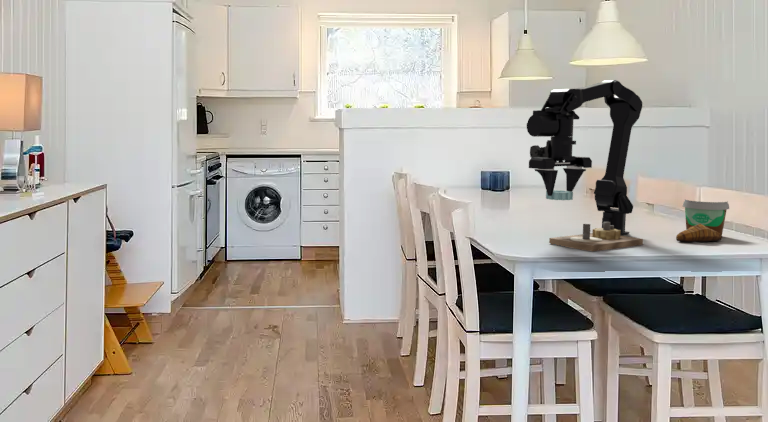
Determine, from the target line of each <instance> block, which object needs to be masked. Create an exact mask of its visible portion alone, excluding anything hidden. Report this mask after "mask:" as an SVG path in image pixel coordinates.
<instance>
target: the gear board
mask: <svg viewBox="0 0 768 422" xmlns="http://www.w3.org/2000/svg"><path fill="white" fill-rule="evenodd" d="M620 232H621V230H617V229H614V225H610V222H603V228H602V227H601V228H600V227H595V228H593V229H592V232H591V224H590V223H583V224H582V234H573V235H564V236H557V237H556V236H555V237H549V242H548V244H549V243H551V244H550V245H553V244H556V245H555V246H559V245H561V246H560V247H564V246H565V248H571V249H575V250H581V251H582V250H583V251H588V252H597V251H599V252H600V251H606V250H614V249H621V248H628V247H636V246H643V245H644V244H643V243H644V239H643V238H639V237H632V236H628V235H627V236H626V235H625V236H624V235H620Z"/></svg>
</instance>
